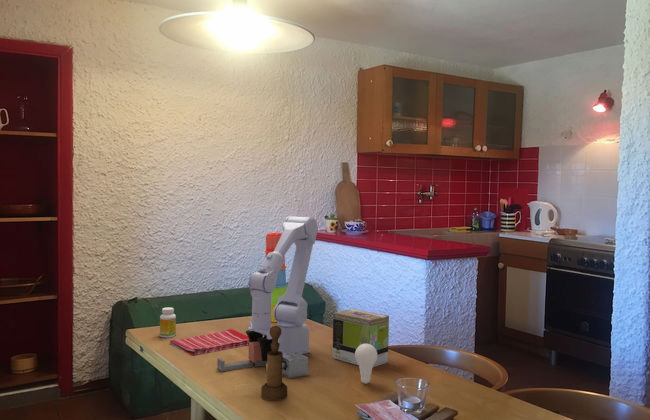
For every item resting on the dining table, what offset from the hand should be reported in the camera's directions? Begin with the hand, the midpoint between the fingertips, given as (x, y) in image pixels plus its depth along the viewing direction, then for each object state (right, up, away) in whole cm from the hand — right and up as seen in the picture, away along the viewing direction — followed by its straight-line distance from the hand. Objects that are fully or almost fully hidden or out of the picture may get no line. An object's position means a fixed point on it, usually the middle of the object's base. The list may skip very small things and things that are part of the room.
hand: (260, 357), depth 169 cm
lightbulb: (+30, -4, -15) cm, 34 cm away
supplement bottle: (-36, 0, +29) cm, 46 cm away
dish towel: (-19, -2, +21) cm, 28 cm away
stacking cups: (0, 0, +57) cm, 56 cm away
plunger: (+6, -1, -11) cm, 12 cm away
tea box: (+30, -3, +6) cm, 31 cm away
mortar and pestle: (+6, -4, -25) cm, 26 cm away
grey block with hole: (+10, -3, -8) cm, 13 cm away
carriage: (0, -2, 0) cm, 2 cm away
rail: (-4, -2, -2) cm, 5 cm away
